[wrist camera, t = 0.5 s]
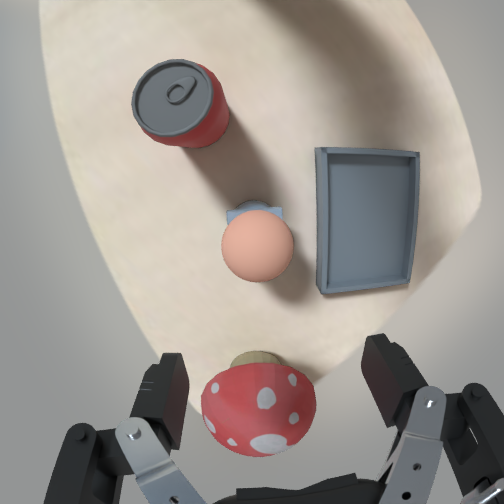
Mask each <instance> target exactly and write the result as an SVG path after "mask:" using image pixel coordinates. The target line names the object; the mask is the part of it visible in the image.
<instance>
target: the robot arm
mask: <svg viewBox="0 0 504 504" xmlns="http://www.w3.org/2000/svg"><path fill="white" fill-rule="evenodd" d="M361 369H362V373H363V376H364V378H365V380H366V382H367V384H368V387H369V388H370V391H371V393H372V395H373V397H374V400H375V402H376V404H377V406H378V408H379V411H380V413H381V415H382V417H383V420H384V422H385V424H386V426H387V428H388V427H391V426H394V425H396V427H397V429H398V430H397V432H396V434H395V437H394V440H393V442H392V445H391V448H390V450H389V453H388V455H387V458H386V460H385V462H384V465H383V467H382V469H381V471H380V473H379V474H378V476H377V478H376V480H375V481H374V480H369V479H357V477H356V474H355V473H352V474H349V475H344V476H339V477H335V478H330V479H327V480H324V481H321V482H319V483H317V484H314V485H312V486H309V487H306V488H304V489H301V490H287V489H277V488H269V487H262V488H242V489H241V488H238V489H236V495H233V496H229V497H226V498H224V499H221V500H219V501H217V502H215V503H213V504H426V502H427V500H428V497H429V494H430V491H431V488H432V485H433V481H434V478H435V474H436V471H437V468H438V464H439V460H440V456H441V452H442V447H444V450H445V452H446V454H447V457H448V459H449V462H450V464H451V466H452V469H453V471H454V474H455V476H456V479H457V482H458V484H459V487H460V489H461V492H462V495H463V499H462V501H461V503H460V504H504V415H503V413H502V412H501V410H500V409H499V407H498V406H497V404H496V402H495V401H494V399H493V398H492V396H491V395H490V393H489V392H488V391H487V389H486V388H485V387H484V386H483V385H481V384H478V383H470V384H468V385H466V386H465V387H464V389H463V391H462V393H453V394H444V392H443V391H442V390H440V389H439V388H437V387H434V386H429V385H428V384H427V382H426V381H425V379H424V378H423V376H422V375H421V373H420V372H419V370H418V369H417V367H416V366H415V364H413V361H412V360H411V358H409V355H408V354H407V353H406V351H405V350H404V348H403V347H401V346H399V345H398V344H397V343H395V342H393V343H390V341H389V340H388V338H387V337H386V335H385V334H383V333H382V334H377V335H371V336H368V337H367V338H366V342H365V347H364V352H363V356H362V361H361ZM188 394H189V378H188V374H187V371H186V368H185V364H184V361H183V357H182V354H181V353H163V354H162V357H161V360H160V363H159V364H152V365H151V367H150V368H149V369H148V370H147V371H146V372H145V374H144V377H143V380H142V383H141V385H140V390H139V391H138V394H137V397H136V400H135V403H134V405H133V408H132V411H131V414H130V417H129V418H127V419H125V420H123V421H121V422H120V423H119V425H118V426H117V428H115V429H108V430H100V431H96V430H95V429H94V428H93V427H92V426H91V425H89V424H86V423H78V424H75V425H74V426H72V427H71V428H70V429H69V430H68V431H67V434H66V436H65V439H64V442H63V444H62V447H61V450H60V453H59V456H58V458H57V461H56V464H55V467H54V470H53V473H52V476H51V480H50V483H49V486H48V490H47V493H46V497H45V500H44V504H119V499H120V494H121V488H122V482H123V477H124V475H131V474H135V475H136V482H137V484H138V485H139V487H140V489H141V491H142V492H143V494H144V495H145V497H146V499H147V500H148V502H149V503H150V504H207V503H206V502H205V501H204V500H203V499H202V497H201V496H200V495H199V494H198V493H197V491H196V490H195V489H194V488H193V486H192V485H191V484H190V483H189V481H188V480H187V479H186V478H185V476H184V475H183V474H182V472H181V471H180V470H179V468H178V467H177V466H176V464H175V463H174V462H173V460H172V459H171V458H170V452H171V449H173V450H179V448H180V442H181V435H182V429H183V423H184V417H185V411H186V405H187V400H188ZM469 428H471V430H472V432H473V434H474V436H475V437H476V440H477V442H478V444H477V442H476V440H475V438H474V437H473V434H472V433H471V431H470V429H469Z"/></svg>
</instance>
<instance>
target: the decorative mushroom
mask: <svg viewBox="0 0 504 504" xmlns="http://www.w3.org/2000/svg"><path fill="white" fill-rule="evenodd" d="M315 398H316V397H315V392H314V386H313V385H312V383H311V382H310V381H309V380H308V378H307V377H306V376H305V375H304V374H302V373H301V372H299V371H297V370H295V369H293V368H292V367H288V366H284V365H281V363H280V362H279V360H278V359H277V358H276V357H274V356H273V355H271V354H269V353H265V352H262V351H251V352H246V353H243V354H241V355H239V356H237V357H236V358H235V359H234V360H233V362H232V364H231V366H230V369H228V370H225V371H223V372H221V373H219V374H217V375H216V376H215V377H214V378H213V379H212V380H210V381H209V382H208V383H207V385H206V387H205V389H204V391H203V393H202V395H201V407H202V415H203V420H204V422H205V424H206V426H207V428H208V429H209V431H210V432H211V434H212V435H213V436H214V438H215V439H216V440H217V441H218V442H219V443H220V444H222V445H223V446H225V447H226V448H228V449H229V450H231V451H233V452H236V453H239V454H242V455H246V456H253V457H264V456H271V455H275V454H277V453H281V452H283V451H285V450H287V449H289V448H291V447H292V446H293V445H295V444H296V443H298V442H299V441H300V440H301V438H302V437H303V436H304V435H305V434H306V433H307V432H308V430H309V428H310V426H311V424H312V421H313V418H314V415H315V412H316V399H315Z"/></svg>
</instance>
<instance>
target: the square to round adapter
mask: <svg viewBox="0 0 504 504" xmlns="http://www.w3.org/2000/svg"><path fill="white" fill-rule="evenodd" d="M252 210H263V211H268V212H271V213H273V214H275V215H277V216H278V217H280V218H281V219H282V208H281V207H270V206H269V205H268V204H266V203H264V202H262V201H257V200H252V201H247V202H244V203H242V204H240V205H239V206H238V207H237V208H236V209H235V210H227V224H228V225H229V223H230V222H231V221H232V220H233V219H234V218H236V217H237V216H238V215H240V214H242V213H244V212H247V211H252ZM282 220H283V219H282Z"/></svg>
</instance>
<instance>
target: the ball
mask: <svg viewBox="0 0 504 504" xmlns="http://www.w3.org/2000/svg"><path fill="white" fill-rule="evenodd" d="M221 247H222V255H223V258H224V261H225V263H226V265H227V266H228V268H229V269H230V270H231V271H232V272H233V273H234V274H235V275H237V276H238V277H240V278H242V279H244V280H246V281H250V282H265V281H269V280H271V279H274V278H275V277H277V276H279V275H280V274H281V273H282V272H283V271H284V270H285V269H286V268H287V266H288V265H289V263H290V261H291V259H292V255H293V249H294V243H293V237H292V234H291V231H290V229H289V227H288V226H287V225H286V223H285V222H284V221H283V220H282V219H281V218H280V217H278V216H277V215H275V214H273V213H271V212H268V211H263V210H252V211H247V212H244V213H242V214H240V215H238V216H237V217H236V218H234V219H233V220H232V221H231V222H230V223H229V225H228V226H227V228H226V230H225V232H224V234H223V237H222V244H221Z"/></svg>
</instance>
